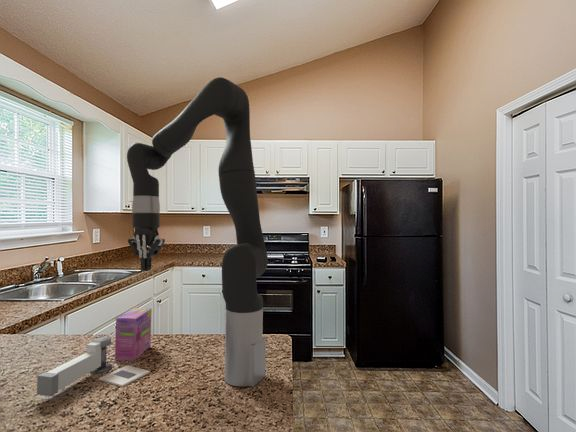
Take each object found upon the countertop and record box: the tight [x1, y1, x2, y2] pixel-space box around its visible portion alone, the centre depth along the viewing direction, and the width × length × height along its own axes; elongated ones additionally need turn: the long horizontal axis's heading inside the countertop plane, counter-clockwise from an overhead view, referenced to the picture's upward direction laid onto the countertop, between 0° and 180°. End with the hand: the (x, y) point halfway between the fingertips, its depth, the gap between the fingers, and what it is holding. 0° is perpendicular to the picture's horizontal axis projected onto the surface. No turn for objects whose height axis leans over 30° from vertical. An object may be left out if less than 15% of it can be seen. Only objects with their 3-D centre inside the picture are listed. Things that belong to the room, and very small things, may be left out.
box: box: [114, 307, 152, 361], centre depth 95 cm, size 10×6×12 cm, turn 179°
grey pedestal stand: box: [90, 346, 113, 374], centre depth 85 cm, size 5×5×6 cm
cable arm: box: [36, 336, 112, 397], centre depth 78 cm, size 18×4×6 cm, turn 169°
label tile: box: [98, 364, 151, 388], centre depth 81 cm, size 8×8×1 cm
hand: (145, 270), depth 96 cm, fingers closed
